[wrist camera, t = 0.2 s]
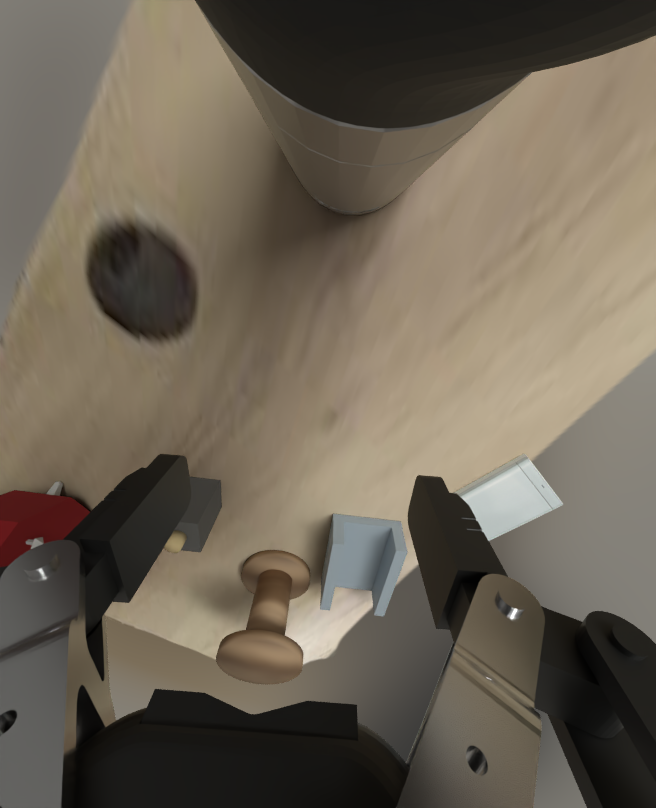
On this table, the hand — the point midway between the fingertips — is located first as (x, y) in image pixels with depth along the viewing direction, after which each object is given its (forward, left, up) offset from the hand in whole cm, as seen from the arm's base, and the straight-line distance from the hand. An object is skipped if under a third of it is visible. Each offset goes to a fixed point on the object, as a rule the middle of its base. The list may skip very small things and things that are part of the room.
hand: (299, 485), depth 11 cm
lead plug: (+19, -12, -17) cm, 28 cm away
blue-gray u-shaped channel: (+26, +7, -17) cm, 32 cm away
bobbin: (+32, -3, -17) cm, 36 cm away
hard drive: (+16, +20, -18) cm, 32 cm away
